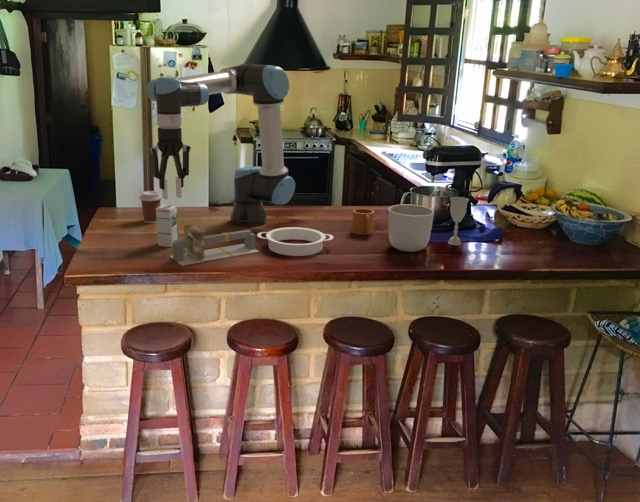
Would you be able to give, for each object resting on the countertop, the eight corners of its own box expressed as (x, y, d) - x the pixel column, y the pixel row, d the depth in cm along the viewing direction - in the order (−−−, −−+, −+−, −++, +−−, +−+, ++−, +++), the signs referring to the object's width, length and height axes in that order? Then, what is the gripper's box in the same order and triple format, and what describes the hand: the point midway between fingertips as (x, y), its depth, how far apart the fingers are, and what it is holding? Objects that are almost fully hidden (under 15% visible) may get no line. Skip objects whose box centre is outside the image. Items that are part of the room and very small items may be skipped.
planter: (439, 250, 245) (443, 211, 240) (409, 258, 234) (413, 218, 229) (406, 239, 257) (409, 202, 252) (376, 246, 246) (379, 208, 241)
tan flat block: (192, 250, 230) (192, 224, 227) (204, 258, 222) (203, 231, 219) (184, 251, 228) (184, 225, 225) (196, 259, 221) (195, 232, 218)
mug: (353, 237, 256) (354, 215, 254) (350, 229, 268) (351, 208, 265) (375, 237, 257) (376, 215, 254) (372, 229, 268) (373, 208, 265)
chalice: (465, 242, 255) (470, 198, 250) (461, 247, 249) (466, 202, 244) (447, 239, 258) (452, 195, 252) (443, 244, 252) (447, 199, 247)
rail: (245, 244, 242) (245, 226, 240) (258, 252, 234) (259, 233, 232) (170, 257, 226) (169, 237, 223) (181, 265, 218) (180, 245, 216)
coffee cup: (161, 217, 273) (159, 189, 269) (165, 223, 265) (164, 194, 261) (138, 218, 269) (137, 190, 266) (142, 224, 262) (141, 196, 258)
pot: (254, 256, 231) (254, 243, 230) (259, 237, 252) (259, 226, 251) (334, 258, 232) (334, 246, 230) (332, 240, 253) (332, 228, 252)
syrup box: (172, 247, 236) (170, 209, 231) (157, 245, 237) (155, 207, 233) (178, 242, 241) (177, 205, 237) (163, 241, 242) (162, 203, 238)
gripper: (147, 129, 199) (151, 203, 207) (199, 127, 209) (200, 197, 216) (139, 126, 205) (142, 198, 213) (189, 124, 215) (191, 192, 222)
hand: (172, 197), depth 214 cm, fingers open, 4 cm apart
